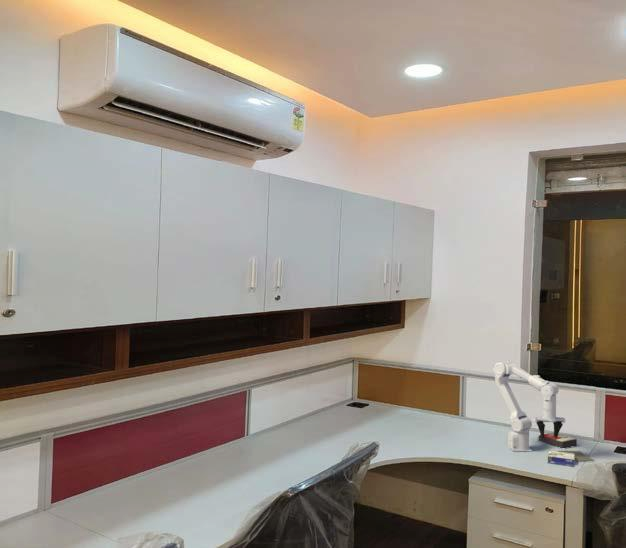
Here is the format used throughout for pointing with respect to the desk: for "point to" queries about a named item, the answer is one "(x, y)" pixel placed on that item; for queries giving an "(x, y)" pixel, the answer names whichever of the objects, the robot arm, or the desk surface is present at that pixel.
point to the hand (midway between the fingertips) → (549, 437)
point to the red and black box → (558, 440)
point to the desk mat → (579, 455)
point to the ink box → (561, 458)
